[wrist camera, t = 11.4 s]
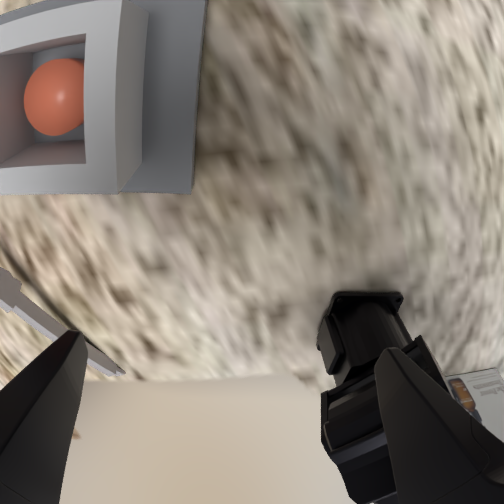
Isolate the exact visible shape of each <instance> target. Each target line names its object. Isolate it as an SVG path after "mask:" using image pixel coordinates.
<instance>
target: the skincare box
mask: <svg viewBox="0 0 504 504" xmlns="http://www.w3.org/2000/svg"><path fill="white" fill-rule="evenodd" d="M445 378H446V380H447V383H448V385H449V387H450V389H451V392H452V394H453V396H454V399H455V400H456V401H457V402H458V403H459V404H460V405H461V406H462V407H463V408H465V409H466V410H467V411H468V412H469V413H470V415H472V416H473V417H474V418H475V419H476V420H477V421H479V422H480V423H481V424H482V425H483V426H484V427H485V428H486V429H487V430H489V431H490V432H491V433H492V434H494V435H495V436H496V437H497V438H498V439H500V440H501V441H502V442H504V380H503V379H502V377H501V375H500V374H499V372H498V370H497V369H496V368H494V369H489V370H483V371H478V372H472V373H467V374H460V375H454V376H448V377H445Z"/></svg>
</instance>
